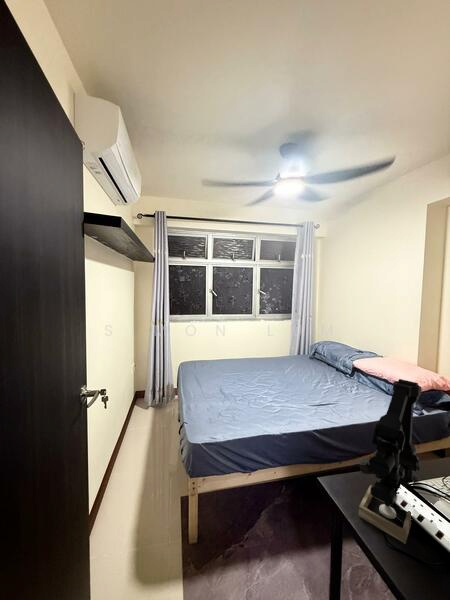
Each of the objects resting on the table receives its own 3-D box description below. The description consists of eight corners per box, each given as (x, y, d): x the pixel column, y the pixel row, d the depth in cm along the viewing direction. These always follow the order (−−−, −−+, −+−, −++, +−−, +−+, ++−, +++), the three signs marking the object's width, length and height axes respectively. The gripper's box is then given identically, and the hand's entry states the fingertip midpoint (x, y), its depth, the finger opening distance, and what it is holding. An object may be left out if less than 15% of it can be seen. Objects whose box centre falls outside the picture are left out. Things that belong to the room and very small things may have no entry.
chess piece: (399, 519, 83) (399, 491, 83) (382, 517, 84) (383, 489, 84) (392, 507, 88) (392, 479, 88) (376, 504, 89) (377, 477, 89)
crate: (370, 493, 94) (370, 484, 94) (413, 515, 85) (413, 505, 85) (358, 516, 85) (358, 506, 85) (405, 543, 76) (405, 532, 75)
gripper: (370, 438, 97) (369, 476, 98) (353, 462, 84) (353, 506, 85) (405, 451, 90) (404, 492, 90) (392, 480, 76) (391, 528, 77)
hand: (387, 503), depth 86 cm, fingers closed on chess piece
